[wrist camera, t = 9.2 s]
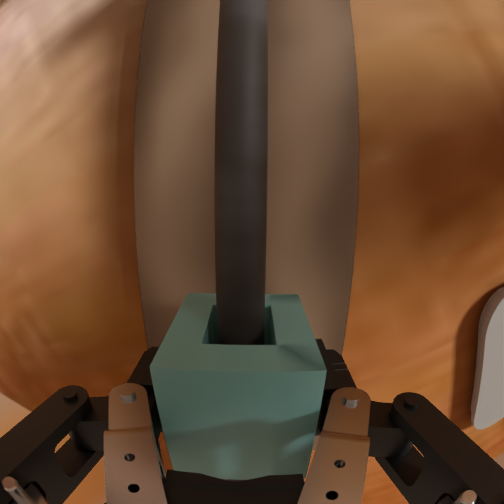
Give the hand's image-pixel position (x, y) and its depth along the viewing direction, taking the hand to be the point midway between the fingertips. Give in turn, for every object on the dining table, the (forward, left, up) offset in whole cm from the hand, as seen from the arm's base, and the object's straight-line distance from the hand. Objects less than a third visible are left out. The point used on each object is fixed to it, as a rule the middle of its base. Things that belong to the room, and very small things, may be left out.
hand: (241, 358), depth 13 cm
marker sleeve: (0, 0, -1) cm, 1 cm away
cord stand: (0, -8, -6) cm, 10 cm away
